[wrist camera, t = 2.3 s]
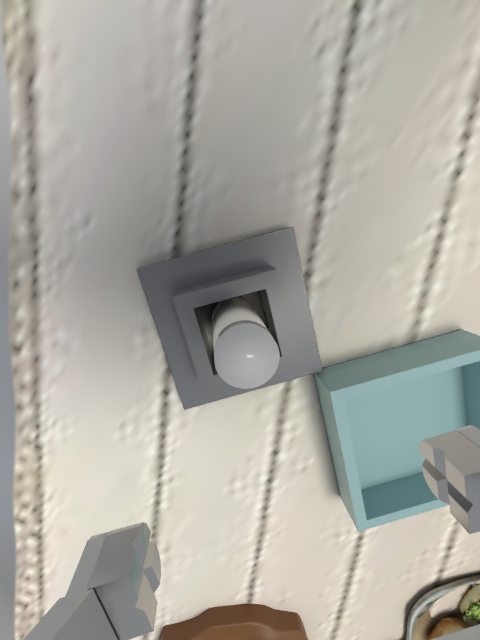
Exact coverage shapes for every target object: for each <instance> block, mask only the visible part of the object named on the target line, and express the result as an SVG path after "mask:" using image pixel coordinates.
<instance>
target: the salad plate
mask: <svg viewBox="0 0 480 640" xmlns="http://www.w3.org/2000/svg"><path fill="white" fill-rule="evenodd" d="M469 584H472V587H471V588H470V589H468V591H467V592H466V594H465V595H464V597H463V599H462V601H461V603H460V604H459V605H458V607H457V608H456V609H455V610H453V611H451V612H450V613H448V614H446V615H443V614H441V615H439V616H438V617H437V618H432V617H431V615H430V613H429V607H430V606H431V605H432V604H433V603H434V602H435V601H437V600H438V599H439V598H441V597H442V596H444V595H445V594H447V593H449V592H450V591H453V590H455V589H457V588H458V587H462V586H465V585H469ZM479 624H480V574H478V575H473V576H469V577H465V578H461V579H458V580H455V581H452V582H449V583H447V584H444V585H442V586H439V587H436V588H434V589H432V590H430V591H428V592H427V593H425V594H424V595H423V596H422V597H421V598H420V599H419V600H418V601H417V602H416V603H415V604H414V606H413V607H412V609H411V610H410V613H409V615H408V619H407V636H406V640H432V639H435V638H438V637H441V636H444V635H447V634H450V633H454V632H457V631H460V630H463V629H466V628H469V627H472V626H475V625H479Z"/></svg>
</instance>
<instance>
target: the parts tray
mask: <svg viewBox="0 0 480 640" xmlns="http://www.w3.org/2000/svg"><path fill="white" fill-rule="evenodd" d="M322 370H323V371H321V372H317V373H314V376H315V381H316V386H317V390H318V395H319V400H320V405H321V409H322V414H323V419H324V423H325V428H326V433H327V437H328V442H329V447H330V451H331V456H332V461H333V466H334V470H335V475H336V480H337V484H338V489H339V494H340V497H341V499H342V501H343V503H344V505H345V507H346V509H347V511H348V512H349V514H350V516H351V518H352V520H353V522H354V524H355V526H356V528H357V530H358V532H359V531H362V530H366V529H369V528H372V527H376V526H379V525H383V524H386V523H389V522H393V521H396V520H399V519H403V518H406V517H410V516H413V515H416V514H420V513H423V512H426V511H430V510H433V509H437V508H440V507H443V506H447V505H449V504H447V503H445V502H442V501H440V500H439V499H438V498H437V497H436V496H435V495H434V494H433V493H432V491H431V489H430V488H429V486H428V485H427V482H426V480H425V478H424V475H423V469H422V464H423V462H424V460H425V457H424V456H423V455H422V454H421V453H420V447H419V444H420V441H421V440H424V439H427V438H431V437H434V436H437V435H440V434H444V433H447V432H450V431H453V430H456V429H459V428H462V427H465V426H468V425H471V426H475V427H476V428H478V429H479V430H480V336H478V335H475V334H473V333H470V332H467V331H464V330H462V329H461V330H458V331H454V332H450V333H447V334H443V335H440V336H436V337H433V338H429V339H425V340H422V341H418V342H415V343H411V344H408V345H404V346H400V347H397V348H393V349H390V350H386V351H383V352H379V353H375V354H372V355H368V356H365V357H361V358H358V359H354V360H350V361H347V362H343V363H340V364H336V365H333V366H329V367H325V368H322Z"/></svg>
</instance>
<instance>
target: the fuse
mask: <svg viewBox="0 0 480 640" xmlns="http://www.w3.org/2000/svg"><path fill="white" fill-rule="evenodd" d="M212 328H213V346H214V363H215V368H216V370H217V372H218V374H219V376H220V377H221V378H222V379H223V380H224V381H225V382H226V383H227V384H229V385H231V386H233V387H236V388H241V389H251V388H255V387H258V386H260V385H263V384H264V383H266V382H267V381H268V380H269V379H270V378H271V377H272V376H273V375H274V373H275V372H276V370H277V368H278V365H279V359H280V353H279V349H278V346H277V343H276V342H275V340H274V339H273V337H272V335H271V334H270V332H269V331H268V329H267V328H266V326H265V325H264V323H263V321H262V320H261V318H260V317H259V315H258V314H257V312H256V311H255V309H254V308H253V306H252V305H251V304H250V303H249V302H248V301H247V300H245V299H243V298H239V297H233V298H230V299H226V300H223V301H221V302H220V303H219V304H218V305H217V306H216V308H215V309H214V311H213V315H212Z"/></svg>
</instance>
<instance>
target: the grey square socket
mask: <svg viewBox="0 0 480 640" xmlns="http://www.w3.org/2000/svg"><path fill="white" fill-rule="evenodd" d="M137 271H138V274H139V277H140V280H141V283H142V286H143V289H144V292H145V295H146V298H147V301H148V304H149V307H150V310H151V313H152V316H153V319H154V322H155V325H156V328H157V331H158V334H159V336H160V339H161V342H162V345H163V348H164V351H165V354H166V357H167V360H168V363H169V366H170V369H171V372H172V375H173V378H174V381H175V384H176V387H177V390H178V393H179V396H180V399H181V402H182V405H183V408H184V410H185V409H189V408H192V407H196V406H199V405H203V404H206V403H210V402H214V401H217V400H221V399H224V398H228V397H231V396H235V395H239V394H242V393H246V392H249V391H253V390H256V389H260V388H264V387H267V386H271V385H274V384H278V383H281V382H285V381H289V380H292V379H296V378H299V377H303V376H306V375H310V374H313V373H317V372H321V371H323V370H322V365H321V360H320V356H319V351H318V346H317V341H316V336H315V331H314V326H313V321H312V317H311V312H310V307H309V302H308V297H307V292H306V287H305V282H304V277H303V273H302V268H301V263H300V258H299V253H298V248H297V243H296V238H295V234H294V229H293V227H290V228H286V229H282V230H278V231H274V232H271V233H267V234H263V235H259V236H256V237H252V238H248V239H244V240H241V241H237V242H233V243H229V244H226V245H222V246H218V247H214V248H211V249H207V250H203V251H199V252H196V253H192V254H188V255H184V256H181V257H177V258H173V259H169V260H166V261H162V262H158V263H154V264H151V265H147V266H143V267H140V268H138V269H137ZM259 290H260V295H261V299H262V303H263V307H264V311H265V315H266V319H267V323H268V328H269V332H270V334H271V335H272V337H273V339H274V340H275V342H276V343H277V346H278V349H279V353H280V359H279V365H278V368H277V370H276V372H275V373H274V375H273V376H272V377H271V378H270V379H269V380H268V381H267V382H266V383H264V384H263V385H260V386H258V387H255V388H251V389H241V388H236V387H233V386H231V385H229V384H227V383H226V382H225V381H224V380H223V379H222V378H221V377H220V376H219V374H218V372H217V370H216V368H215V363H214V355H212V352H211V348H210V345H209V342H208V338H207V335H206V332H205V328H204V325H203V321H202V318H201V315H200V311H199V308H198V307H200V306H204V305H207V304H211V303H215V302H219V301H222V300H226V299H230V298H233V297H237V296H241V295H244V294H248V293H252V292H255V291H259Z"/></svg>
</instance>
